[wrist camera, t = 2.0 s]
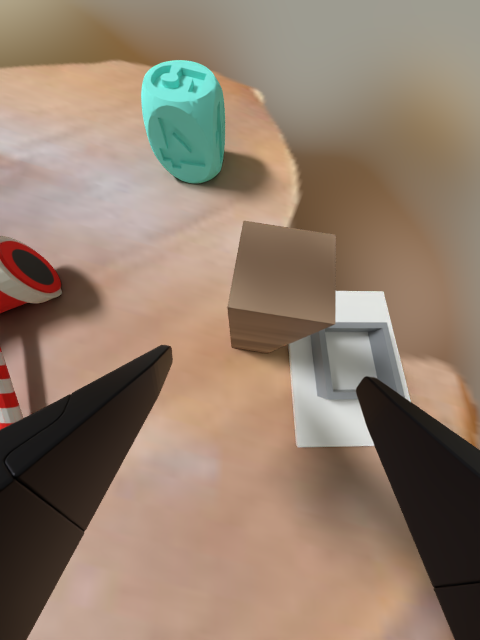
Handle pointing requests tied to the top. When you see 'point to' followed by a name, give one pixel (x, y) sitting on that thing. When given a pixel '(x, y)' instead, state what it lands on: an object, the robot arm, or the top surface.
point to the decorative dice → (185, 119)
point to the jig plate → (343, 371)
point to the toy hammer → (17, 289)
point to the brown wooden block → (281, 286)
